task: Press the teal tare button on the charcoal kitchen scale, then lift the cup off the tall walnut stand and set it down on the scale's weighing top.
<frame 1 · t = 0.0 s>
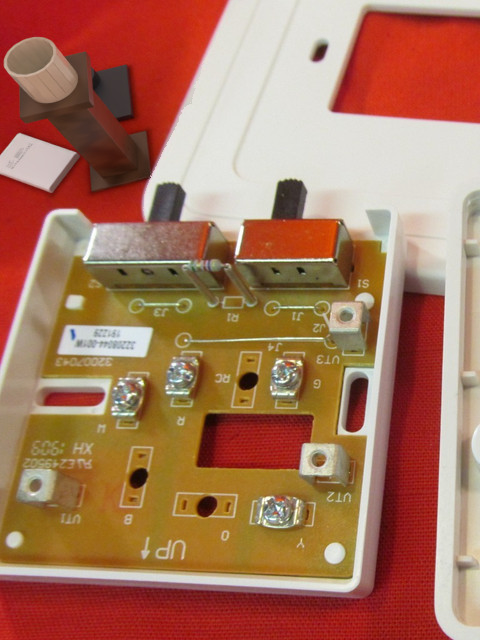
tare button: (75, 73, 120), point 4 cm above the table, slide at 0.1 cm
hard drive: (40, 166, 118), on the table
cup: (53, 83, 100), point 18 cm above the table, touching stand
stand: (122, 164, 117), on the table
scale: (105, 101, 122), on the table
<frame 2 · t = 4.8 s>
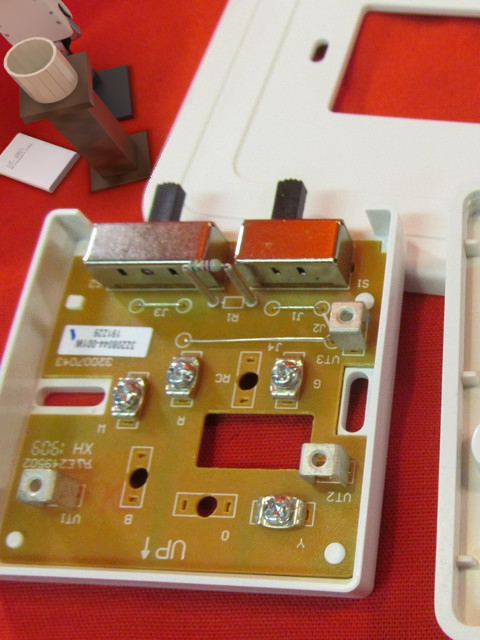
hand: (73, 69, 119), 4 cm above the table, tool pointing down, fingers closed
tare button: (75, 74, 120), point 3 cm above the table, slide at 0.0 cm, touching gripper
everything else where it was.
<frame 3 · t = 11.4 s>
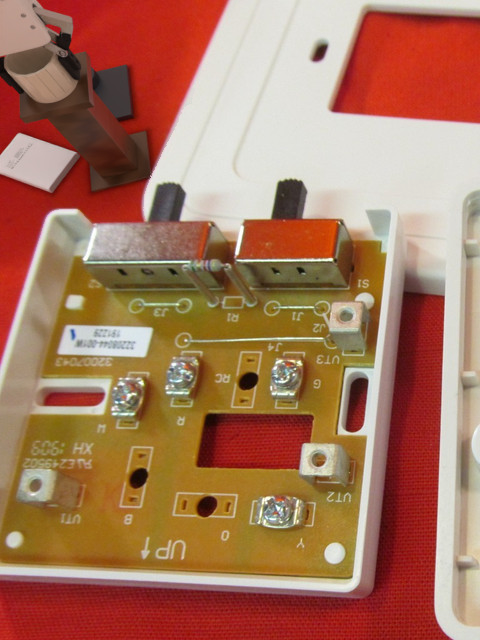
hand: (49, 79, 99), 19 cm above the table, tool pointing down, fingers closed on cup, 7 cm apart
tare button: (75, 73, 120), point 4 cm above the table, slide at 0.1 cm
cup: (53, 83, 100), point 18 cm above the table, touching gripper, stand
everything else where it was.
when the fingers open (2 cm above the table, at t = 19.1 s): cup stays where it is, resting on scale.
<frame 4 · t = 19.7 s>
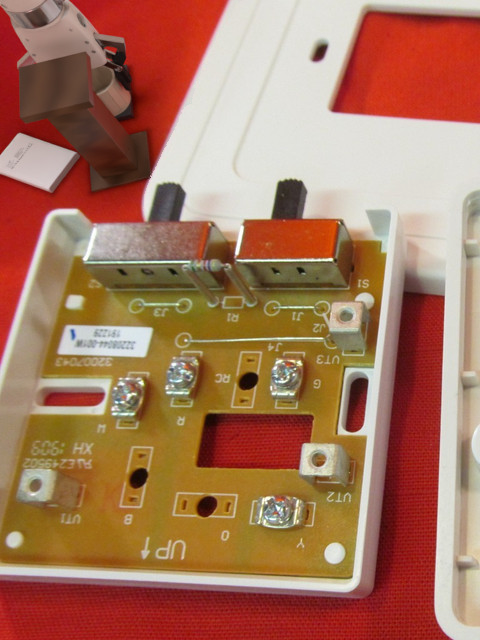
hand: (100, 91, 118), 4 cm above the table, tool pointing down, fingers open, 9 cm apart
cup: (110, 101, 120), point 1 cm above the table, touching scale
everything else where it was.
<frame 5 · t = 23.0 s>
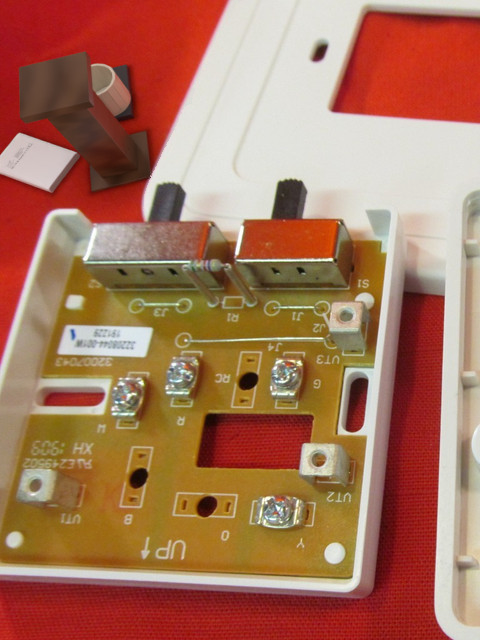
nothing on the table moved.
at the end: tare button pushed in 0.9 cm at the most during the clip, back to where it started at the end; cup inside the target area on the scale (0.5 cm from its centre), point 1.4 cm above the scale's base; cup touching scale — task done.
